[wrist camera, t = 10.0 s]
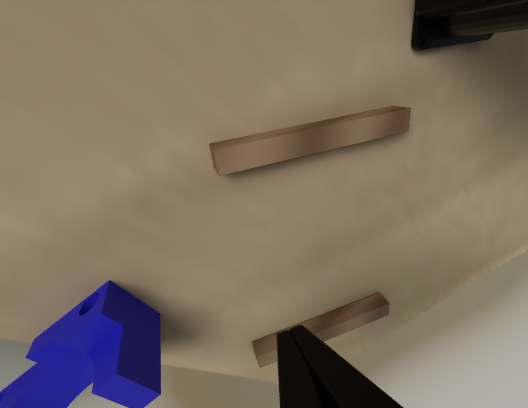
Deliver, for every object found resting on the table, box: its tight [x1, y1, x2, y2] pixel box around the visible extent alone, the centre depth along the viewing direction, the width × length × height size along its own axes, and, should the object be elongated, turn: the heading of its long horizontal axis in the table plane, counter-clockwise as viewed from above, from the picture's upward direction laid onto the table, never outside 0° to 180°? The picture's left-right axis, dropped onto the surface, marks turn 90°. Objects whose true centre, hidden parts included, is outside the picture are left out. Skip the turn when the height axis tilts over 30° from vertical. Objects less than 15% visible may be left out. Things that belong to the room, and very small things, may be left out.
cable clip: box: [0, 280, 161, 408], centre depth 17 cm, size 12×4×6 cm, turn 124°
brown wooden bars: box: [209, 106, 411, 368], centre depth 22 cm, size 13×19×2 cm
